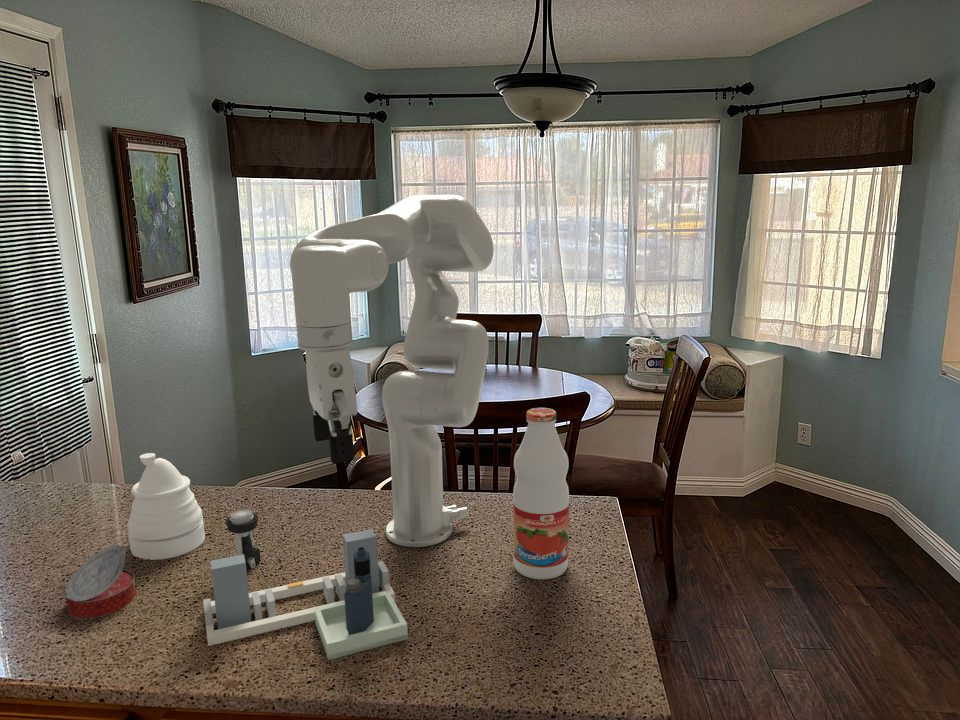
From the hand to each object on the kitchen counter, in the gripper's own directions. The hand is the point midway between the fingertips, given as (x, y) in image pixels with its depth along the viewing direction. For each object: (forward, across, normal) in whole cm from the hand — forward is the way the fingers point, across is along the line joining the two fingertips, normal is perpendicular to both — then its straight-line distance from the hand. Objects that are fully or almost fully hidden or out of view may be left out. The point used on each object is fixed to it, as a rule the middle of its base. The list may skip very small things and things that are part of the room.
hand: (333, 450), depth 105 cm
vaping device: (+26, -6, -1) cm, 27 cm away
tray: (+27, -6, 0) cm, 27 cm away
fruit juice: (+28, -2, -34) cm, 44 cm away
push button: (+27, +21, +12) cm, 37 cm away
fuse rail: (+27, +5, +6) cm, 28 cm away
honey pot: (+27, +38, +24) cm, 52 cm away
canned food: (+27, +21, +34) cm, 49 cm away
